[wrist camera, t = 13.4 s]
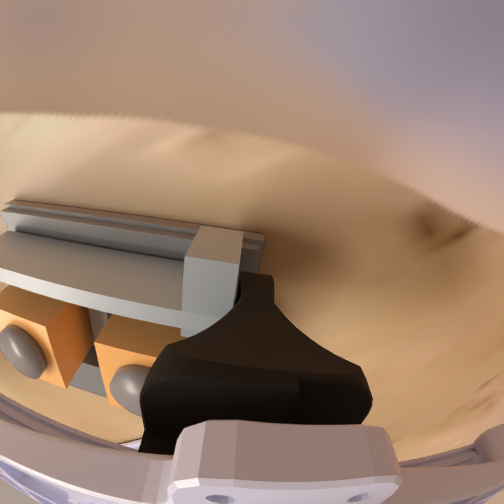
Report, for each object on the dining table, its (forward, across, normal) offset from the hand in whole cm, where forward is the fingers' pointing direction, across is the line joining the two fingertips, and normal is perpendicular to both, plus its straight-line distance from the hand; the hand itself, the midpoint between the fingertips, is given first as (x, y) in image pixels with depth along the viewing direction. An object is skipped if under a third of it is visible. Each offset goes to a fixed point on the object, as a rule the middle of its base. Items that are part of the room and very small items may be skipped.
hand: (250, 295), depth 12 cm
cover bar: (+1, +7, -1) cm, 7 cm away
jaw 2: (+2, +4, +4) cm, 5 cm away
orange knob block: (+2, +10, +4) cm, 11 cm away
